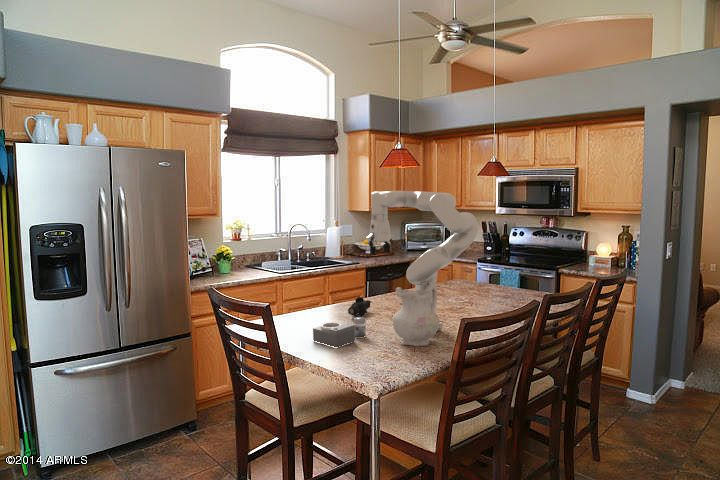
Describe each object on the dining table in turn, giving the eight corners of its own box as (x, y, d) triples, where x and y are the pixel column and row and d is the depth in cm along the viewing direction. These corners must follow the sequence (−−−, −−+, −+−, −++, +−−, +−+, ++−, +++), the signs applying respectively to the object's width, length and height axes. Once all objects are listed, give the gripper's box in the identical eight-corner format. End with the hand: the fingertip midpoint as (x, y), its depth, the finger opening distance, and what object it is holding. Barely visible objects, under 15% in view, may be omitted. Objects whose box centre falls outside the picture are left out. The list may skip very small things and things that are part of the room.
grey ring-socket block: (354, 342, 209) (354, 323, 208) (336, 348, 201) (335, 329, 200) (331, 336, 219) (331, 318, 218) (313, 342, 211) (312, 323, 210)
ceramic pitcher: (414, 334, 222) (409, 279, 221) (452, 338, 210) (448, 280, 209) (385, 347, 206) (380, 288, 204) (425, 352, 193) (420, 289, 192)
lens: (368, 336, 217) (368, 318, 217) (360, 339, 213) (359, 320, 213) (359, 333, 221) (359, 316, 220) (351, 336, 217) (350, 318, 216)
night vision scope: (352, 324, 246) (338, 310, 249) (368, 316, 262) (355, 303, 265) (360, 313, 243) (347, 299, 246) (377, 306, 259) (363, 292, 262)
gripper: (372, 219, 224) (373, 256, 226) (397, 217, 237) (397, 252, 238) (361, 218, 230) (361, 254, 232) (386, 216, 242) (386, 251, 244)
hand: (380, 253), depth 235 cm, fingers open, 9 cm apart
